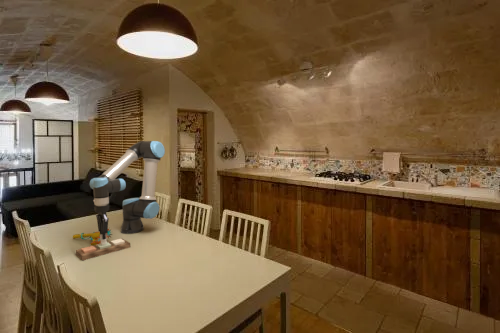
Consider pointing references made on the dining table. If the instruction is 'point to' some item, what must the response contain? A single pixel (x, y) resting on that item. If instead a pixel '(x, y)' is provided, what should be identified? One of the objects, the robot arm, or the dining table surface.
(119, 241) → the tile cream
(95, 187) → the robot arm
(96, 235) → the toy gun
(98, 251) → the board
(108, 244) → the tile sage
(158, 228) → the dining table surface
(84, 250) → the tile terracotta
